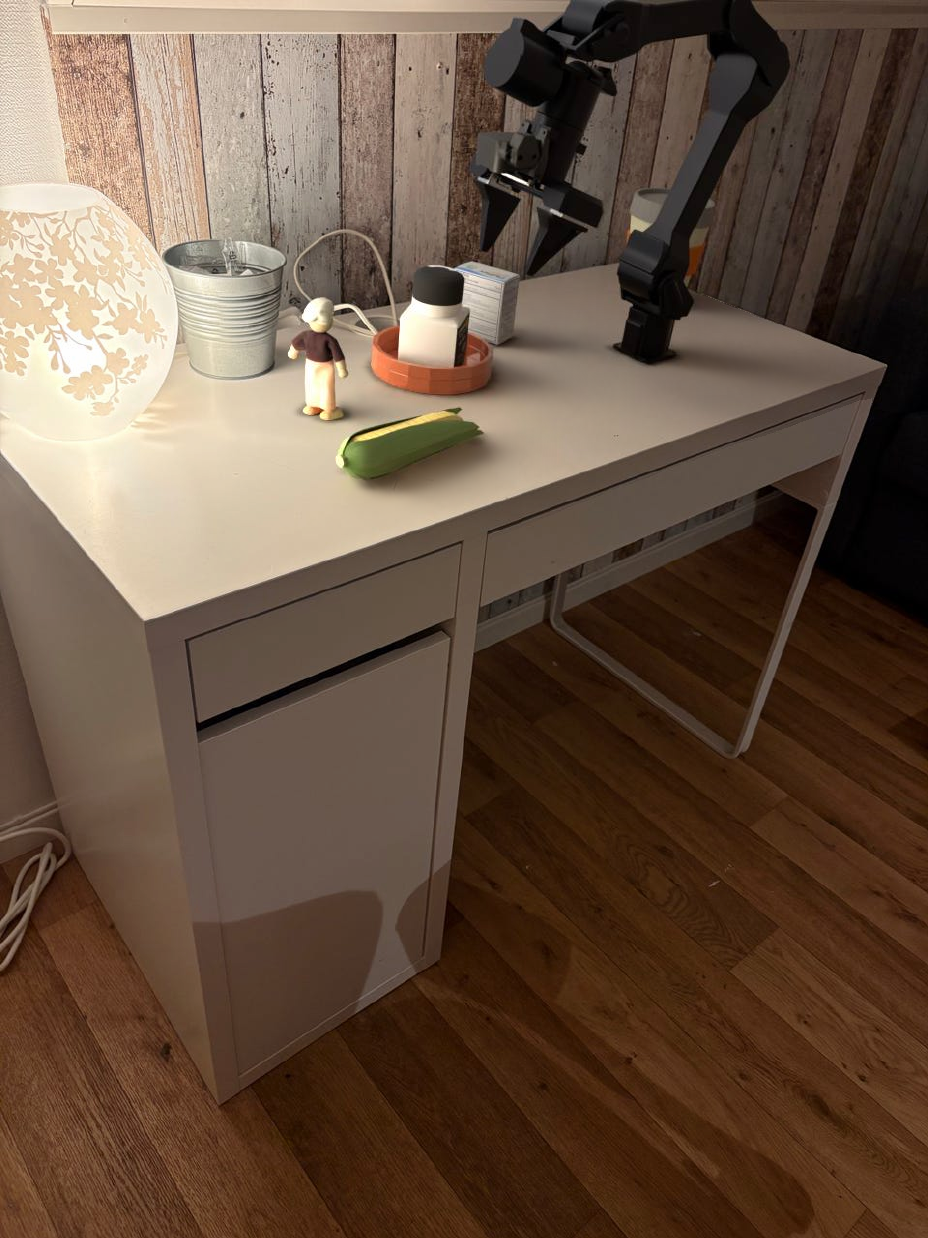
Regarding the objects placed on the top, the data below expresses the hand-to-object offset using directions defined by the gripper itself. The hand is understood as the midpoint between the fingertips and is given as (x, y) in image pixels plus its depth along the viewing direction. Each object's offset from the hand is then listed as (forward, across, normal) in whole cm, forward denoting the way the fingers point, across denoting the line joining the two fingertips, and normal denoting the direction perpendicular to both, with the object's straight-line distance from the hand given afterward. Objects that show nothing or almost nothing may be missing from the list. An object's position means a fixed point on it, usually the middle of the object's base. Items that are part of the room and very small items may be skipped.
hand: (505, 262), depth 112 cm
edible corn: (+20, +15, -14) cm, 29 cm away
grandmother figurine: (+22, +2, -18) cm, 28 cm away
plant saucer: (+15, -4, -1) cm, 16 cm away
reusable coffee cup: (-1, -18, +46) cm, 49 cm away
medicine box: (+11, -13, +11) cm, 20 cm away
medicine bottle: (+15, -4, -1) cm, 16 cm away
